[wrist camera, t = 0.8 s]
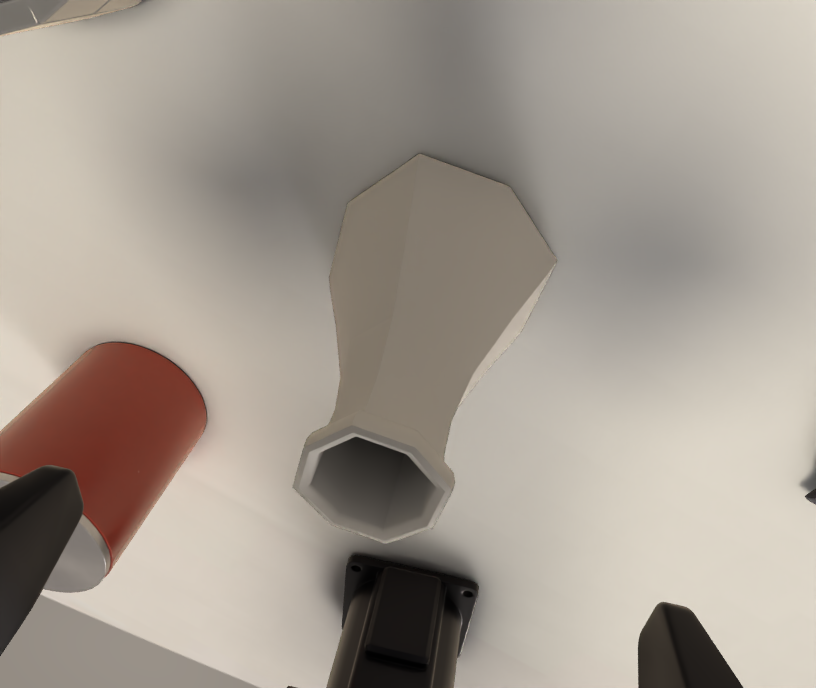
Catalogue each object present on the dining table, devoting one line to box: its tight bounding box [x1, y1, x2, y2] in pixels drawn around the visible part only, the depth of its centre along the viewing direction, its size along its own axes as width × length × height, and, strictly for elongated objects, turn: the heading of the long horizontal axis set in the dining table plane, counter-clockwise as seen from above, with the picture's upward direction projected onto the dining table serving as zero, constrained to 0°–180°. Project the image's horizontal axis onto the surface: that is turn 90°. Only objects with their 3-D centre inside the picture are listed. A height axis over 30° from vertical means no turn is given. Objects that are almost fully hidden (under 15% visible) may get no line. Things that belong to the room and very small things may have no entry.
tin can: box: [0, 342, 207, 593], centre depth 24 cm, size 6×6×8 cm
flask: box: [293, 154, 557, 544], centre depth 16 cm, size 7×7×10 cm
